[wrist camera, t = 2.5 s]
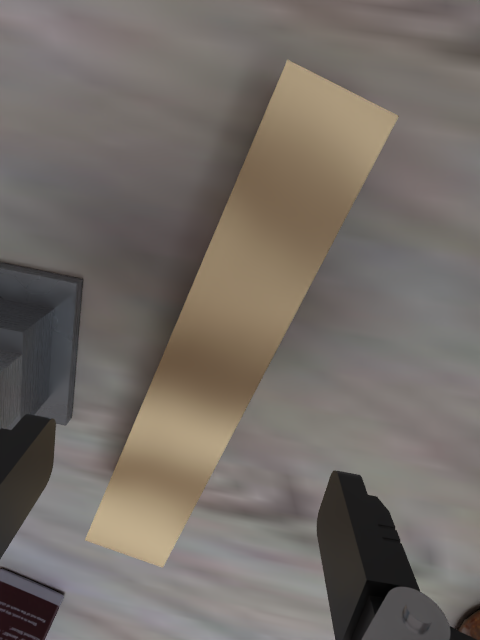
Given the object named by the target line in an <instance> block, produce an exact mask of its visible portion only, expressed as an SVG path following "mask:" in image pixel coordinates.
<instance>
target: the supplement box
mask: <svg viewBox="0 0 480 640" xmlns="http://www.w3.org/2000/svg"><path fill="white" fill-rule="evenodd" d="M63 598H64V596H63V595H62V594H60V593H58V592H56V591H54V590H52V589H49V588H47V587H45V586H43V585H40V584H38V583H36V582H34V581H31V580H29V579H26V578H24V577H21V576H19V575H16V574H14V573H12V572H9V571H7V570H4V569H0V640H45V638H46V636H47V633H48V631H49V629H50V627H51V625H52V622H53V620H54V618H55V616H56V614H57V611H58V609H59V607H60V605H61V603H62V600H63Z"/></svg>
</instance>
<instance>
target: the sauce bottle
mask: <svg viewBox="0 0 480 640" xmlns="http://www.w3.org/2000/svg"><path fill="white" fill-rule="evenodd" d="M458 631H460V632H462V633H464V634H466V635H468V636H471V637H473V638H475V639H477V640H480V610H478V611H477V612H475V613H474V614H472V615H471V616H470V617H469V618H467V619H465V620H464V622H463V623H462V625H461V627H460V628H459V630H458Z"/></svg>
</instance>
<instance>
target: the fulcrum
mask: <svg viewBox="0 0 480 640" xmlns="http://www.w3.org/2000/svg"><path fill="white" fill-rule="evenodd" d="M82 284H83V279H80V278H75V277H70V276H65V275H60V274H56V273H51V272H46V271H41V270H36V269H31V268H26V267H21V266H17V265H12V264H7V263H2V262H0V429H1V428H3V429H9V430H12V429H13V428H14V426H15V425H16V424H17V423H18V422H19V421H20V420H21V419H22V417H23V416H24V415H26V414H32V415H37V416H43V417H48V418H54V419H55V422H56V424H61V425H67V423H68V422H69V420H70V419H71V418H72V408H73V396H74V383H75V371H76V359H77V346H78V334H79V321H80V309H81V297H82Z"/></svg>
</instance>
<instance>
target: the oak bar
mask: <svg viewBox="0 0 480 640" xmlns="http://www.w3.org/2000/svg"><path fill="white" fill-rule="evenodd" d="M398 117H399V116H398V115H396V114H394V113H392V112H390V111H388V110H386V109H384V108H382V107H380V106H378V105H376V104H374V103H372V102H370V101H368V100H366V99H364V98H362V97H360V96H358V95H356V94H354V93H352V92H350V91H348V90H346V89H344V88H342V87H340V86H339V85H337V84H335V83H333V82H331V81H329V80H327V79H325V78H323V77H321V76H319V75H317V74H315V73H313V72H311V71H309V70H307V69H305V68H303V67H301V66H299V65H297V64H295V63H293V62H291V61H289V60H287V62H286V64H285V67H284V69H283V71H282V74H281V76H280V79H279V81H278V83H277V86H276V88H275V90H274V93H273V95H272V98H271V100H270V102H269V105H268V107H267V109H266V112H265V114H264V117H263V119H262V121H261V124H260V126H259V128H258V131H257V133H256V135H255V138H254V140H253V143H252V145H251V147H250V150H249V152H248V154H247V157H246V159H245V162H244V164H243V166H242V169H241V171H240V173H239V176H238V178H237V181H236V183H235V185H234V188H233V190H232V192H231V195H230V197H229V200H228V202H227V204H226V207H225V209H224V211H223V214H222V216H221V219H220V221H219V223H218V226H217V228H216V230H215V233H214V235H213V238H212V240H211V242H210V245H209V247H208V249H207V252H206V254H205V256H204V259H203V261H202V264H201V266H200V268H199V271H198V273H197V275H196V278H195V280H194V283H193V285H192V287H191V290H190V292H189V294H188V297H187V299H186V302H185V304H184V306H183V309H182V311H181V313H180V316H179V318H178V321H177V323H176V325H175V328H174V330H173V332H172V335H171V337H170V340H169V342H168V344H167V347H166V349H165V351H164V354H163V356H162V359H161V361H160V363H159V366H158V368H157V370H156V373H155V375H154V377H153V380H152V382H151V385H150V387H149V389H148V392H147V394H146V396H145V399H144V401H143V404H142V406H141V408H140V411H139V413H138V415H137V418H136V420H135V423H134V425H133V427H132V430H131V432H130V434H129V437H128V439H127V442H126V444H125V446H124V449H123V451H122V453H121V456H120V458H119V461H118V463H117V465H116V468H115V470H114V472H113V475H112V477H111V480H110V482H109V484H108V487H107V489H106V491H105V494H104V496H103V498H102V501H101V503H100V506H99V508H98V510H97V513H96V515H95V517H94V520H93V522H92V525H91V527H90V529H89V532H88V534H87V536H86V539H85V540H86V541H89V542H92V543H94V544H97V545H100V546H103V547H106V548H109V549H111V550H114V551H117V552H120V553H123V554H126V555H128V556H131V557H134V558H137V559H140V560H143V561H145V562H148V563H151V564H154V565H157V566H160V567H162V568H163V566H164V564H165V563H166V561H167V559H168V557H169V555H170V553H171V551H172V549H173V547H174V545H175V543H176V542H177V540H178V538H179V536H180V534H181V532H182V530H183V528H184V526H185V524H186V522H187V520H188V519H189V517H190V515H191V513H192V511H193V509H194V507H195V505H196V503H197V501H198V499H199V498H200V496H201V494H202V492H203V490H204V488H205V486H206V484H207V482H208V480H209V478H210V476H211V475H212V473H213V471H214V469H215V467H216V465H217V463H218V461H219V459H220V457H221V455H222V454H223V452H224V450H225V448H226V446H227V444H228V442H229V440H230V438H231V436H232V434H233V432H234V431H235V429H236V427H237V425H238V423H239V421H240V419H241V417H242V415H243V413H244V411H245V410H246V408H247V406H248V404H249V402H250V400H251V398H252V396H253V394H254V392H255V390H256V389H257V387H258V385H259V383H260V381H261V379H262V377H263V375H264V373H265V371H266V369H267V367H268V366H269V364H270V362H271V360H272V358H273V356H274V354H275V352H276V350H277V348H278V346H279V345H280V343H281V341H282V339H283V337H284V335H285V333H286V331H287V329H288V327H289V325H290V323H291V322H292V320H293V318H294V316H295V314H296V312H297V310H298V308H299V306H300V304H301V302H302V301H303V299H304V297H305V295H306V293H307V291H308V289H309V287H310V285H311V283H312V281H313V279H314V278H315V276H316V274H317V272H318V270H319V268H320V266H321V264H322V262H323V260H324V258H325V257H326V255H327V253H328V251H329V249H330V247H331V245H332V243H333V241H334V239H335V237H336V235H337V234H338V232H339V230H340V228H341V226H342V224H343V222H344V220H345V218H346V216H347V214H348V213H349V211H350V209H351V207H352V205H353V203H354V201H355V199H356V197H357V195H358V193H359V192H360V190H361V188H362V186H363V184H364V182H365V180H366V178H367V176H368V174H369V172H370V170H371V169H372V167H373V165H374V163H375V161H376V159H377V157H378V155H379V153H380V151H381V149H382V148H383V146H384V144H385V142H386V140H387V138H388V136H389V134H390V132H391V130H392V128H393V126H394V125H395V123H396V121H397V119H398Z"/></svg>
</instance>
